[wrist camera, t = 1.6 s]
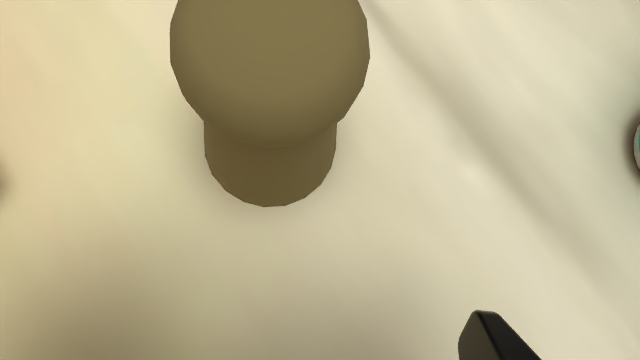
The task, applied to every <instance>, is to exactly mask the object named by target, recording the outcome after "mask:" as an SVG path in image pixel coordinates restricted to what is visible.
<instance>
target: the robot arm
mask: <svg viewBox="0 0 640 360" xmlns="http://www.w3.org/2000/svg"><path fill="white" fill-rule="evenodd" d="M458 353H459V360H541V359H540V358H539V356H538V355H537V354H536V353H535V352H534V351H533V350H532V349H531V348H530V347H529V346H528V345H527V344H526V343H525V342H524V340H523V339H522V338H521V337H520V336H519V335H518V334H517V333H516V332H515V331H514V330H513V329H512V328H511V327H510V326H509V325H508V323H507V322H506V321H505V320H504V319H503V318H502V317H501V316H500V315H499V314H497V313H495V312H492V311H482V310H475V311H474V312H472V314H471V315H470V317H469V319H468V321H467V323H466V325H465V327H464V329H463V331H462V333H461V335H460V337H459V341H458Z"/></svg>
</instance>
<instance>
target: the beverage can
mask: <svg viewBox="0 0 640 360" xmlns="http://www.w3.org/2000/svg"><path fill="white" fill-rule="evenodd" d="M634 156H635V160H636V163H637V165H638V168H639V170H640V125H639V126H638V128H637V131H636V133H635V138H634Z"/></svg>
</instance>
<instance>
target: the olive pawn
mask: <svg viewBox="0 0 640 360" xmlns="http://www.w3.org/2000/svg"><path fill="white" fill-rule="evenodd" d="M369 59H370V50H369V39H368V30H367V20H366V17H365V15H364V13H363V11H362V9H361V6H360V4H359V2H358V0H178V3H177V5H176V8H175V11H174V14H173V17H172V20H171V24H170V63H171V66H172V68H173V71H174V74H175V76H176V79H177V81H178V84H179V87H180V89H181V92H182V94H183V95H184V97H185V99H186V101H187V102H188V103H189V104H190V105H191V107H192V108H193V109H194V110H195V111H196V113H197V114H198V115H199V116H200V117H201V119H202V120H203V121H204V142H205V157H206V159H207V162H208V164H209V167H210V170H211V172H212V175H213V176H214V177H215V178H216V179H217V181H218V182H219V183H220V184H221V186H222V187H223V188H224V189H225V190H226V191H227V192H229V193H230V194H232V195H234V196H235V197H237V198H238V199H240V200H242V201H243V202H247V203H251V204H255V205H259V206H263V207H271V206H285V205H288V204H291V203H293V202H296V201H298V200H301V199H303V198H305V197H306V196H308V195H309V194H310V193H311V192H312V191H314V190H315V189H316V188H317V187H318V186H320V185H321V183H322V182H323V180H324V178H325V177H326V175H327V174H328V172H329V170H330V169H331V166H332V162H333V158H334V154H335V149H336V130H337V122H339V121H340V120H341V119H342V118H344V116H345V115H346V113H347V112H348V110H349V108H350V107H351V105H352V104H353V102H354V101H355V99H356V97H357V96H358V94H359V93H360V91H361V89H362V87H363V85H364V81H365V77H366V72H367V68H368V64H369Z"/></svg>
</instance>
